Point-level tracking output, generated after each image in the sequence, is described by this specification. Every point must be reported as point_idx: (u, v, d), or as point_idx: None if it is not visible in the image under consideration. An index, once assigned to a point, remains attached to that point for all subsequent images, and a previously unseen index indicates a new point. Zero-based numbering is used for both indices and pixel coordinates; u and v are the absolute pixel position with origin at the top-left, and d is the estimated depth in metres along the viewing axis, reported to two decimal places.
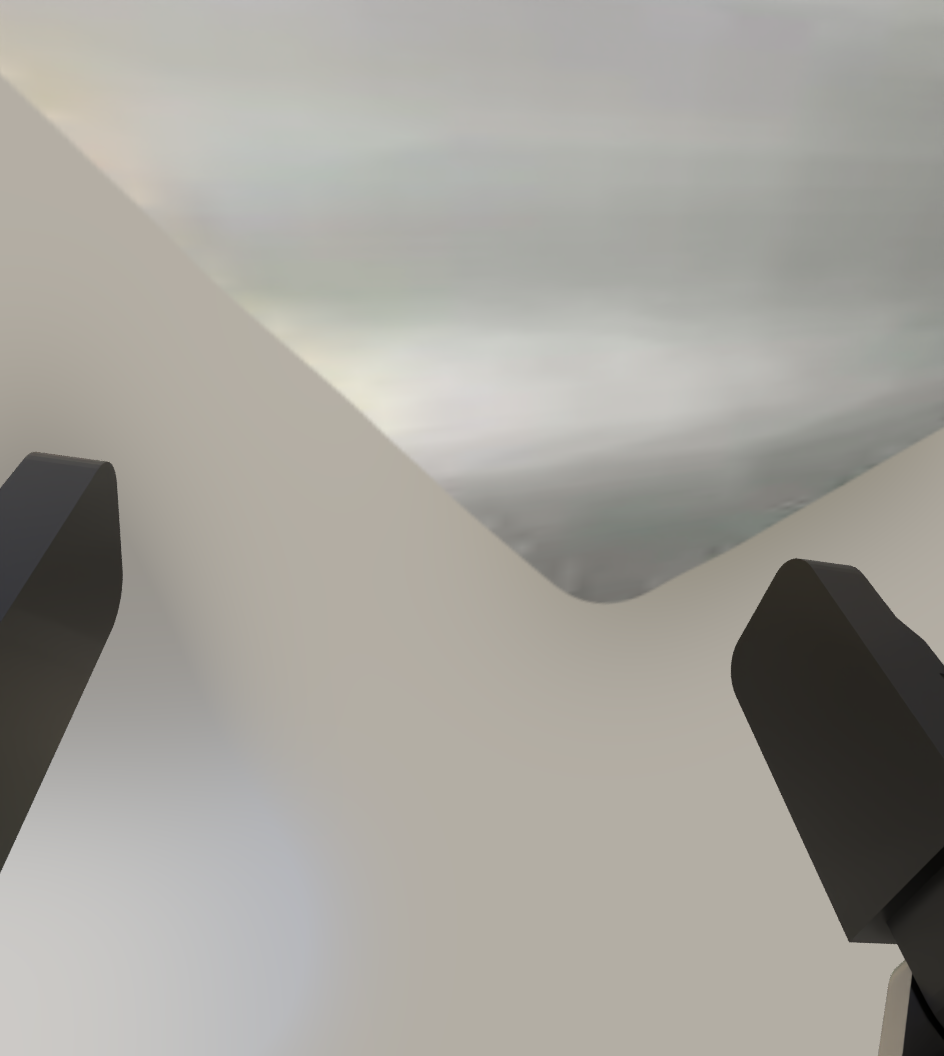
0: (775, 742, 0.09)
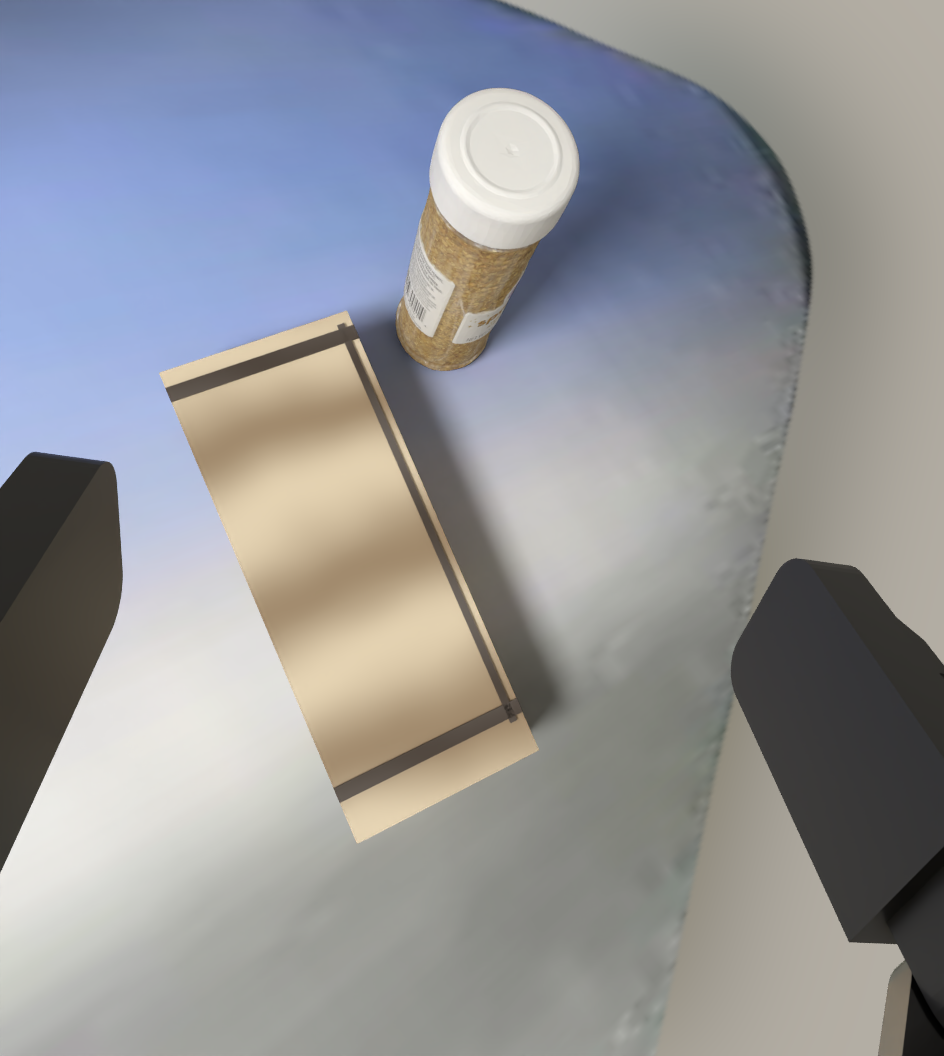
0: (775, 742, 0.09)
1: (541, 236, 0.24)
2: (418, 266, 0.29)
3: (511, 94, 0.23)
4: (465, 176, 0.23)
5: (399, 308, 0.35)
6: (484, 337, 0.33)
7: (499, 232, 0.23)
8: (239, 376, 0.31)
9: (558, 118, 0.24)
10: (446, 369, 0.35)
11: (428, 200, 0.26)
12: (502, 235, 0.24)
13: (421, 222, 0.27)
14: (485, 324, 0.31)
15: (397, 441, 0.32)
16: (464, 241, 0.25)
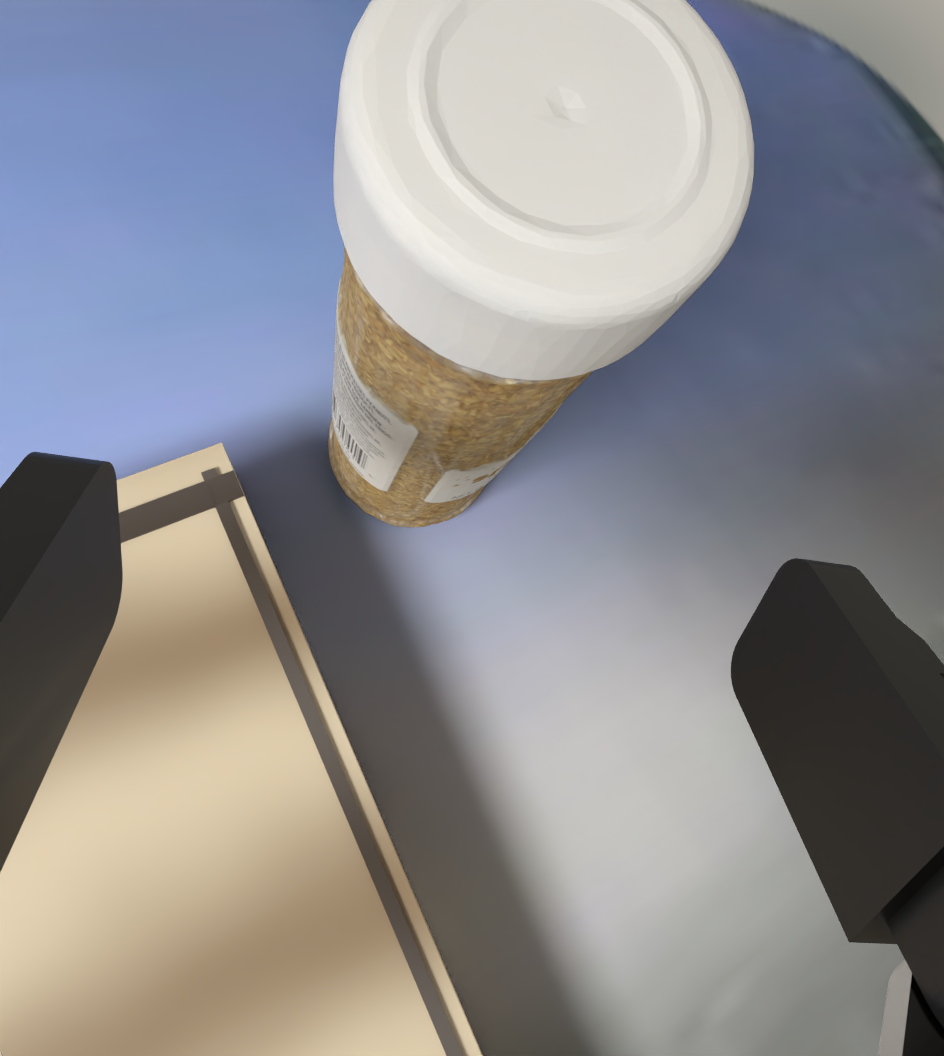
0: (775, 742, 0.09)
1: (637, 345, 0.09)
2: (342, 379, 0.13)
3: None
4: (425, 185, 0.07)
5: None
6: None
7: (526, 347, 0.08)
8: None
9: (695, 18, 0.08)
10: (418, 526, 0.20)
11: None
12: (535, 353, 0.08)
13: (341, 289, 0.12)
14: (487, 477, 0.16)
15: (317, 700, 0.16)
16: (431, 356, 0.09)
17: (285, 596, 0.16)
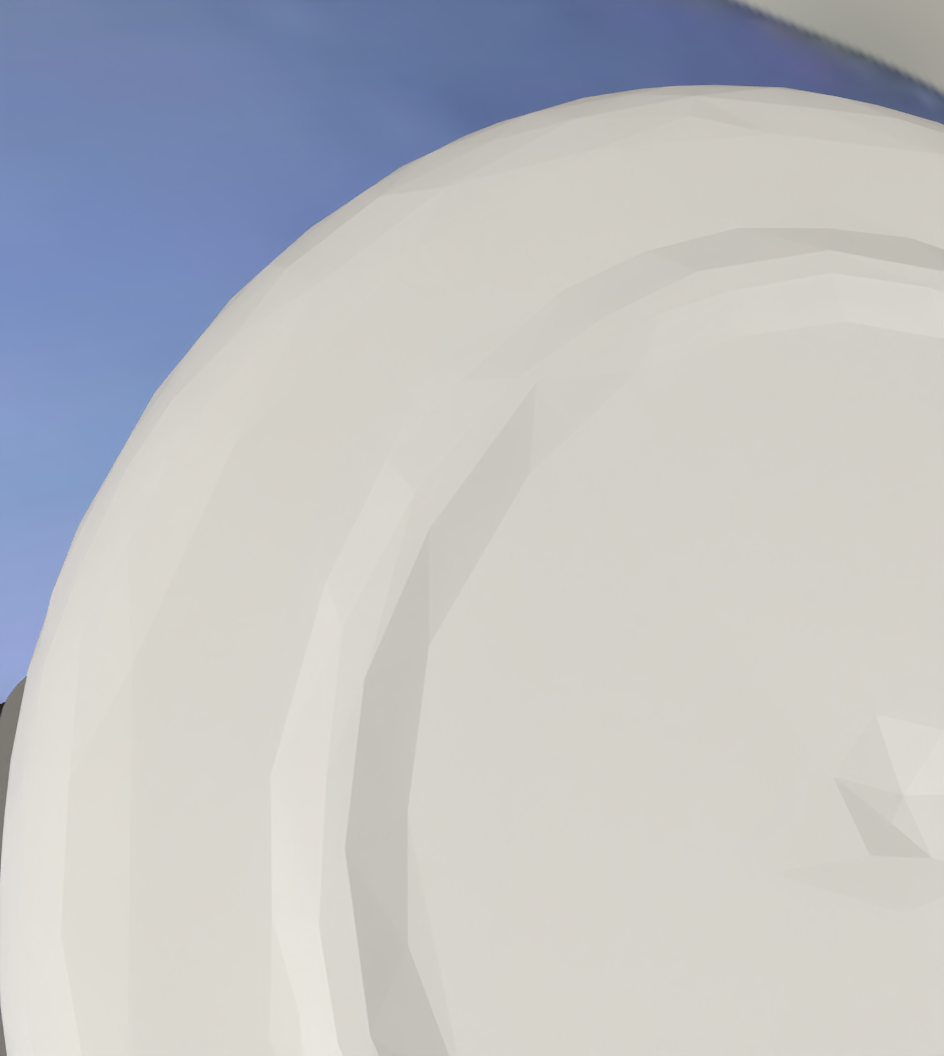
0: None
1: None
2: None
3: (854, 150, 0.02)
4: None
5: None
6: None
7: None
8: None
9: None
10: None
11: None
12: None
13: None
14: None
15: None
16: None
17: None
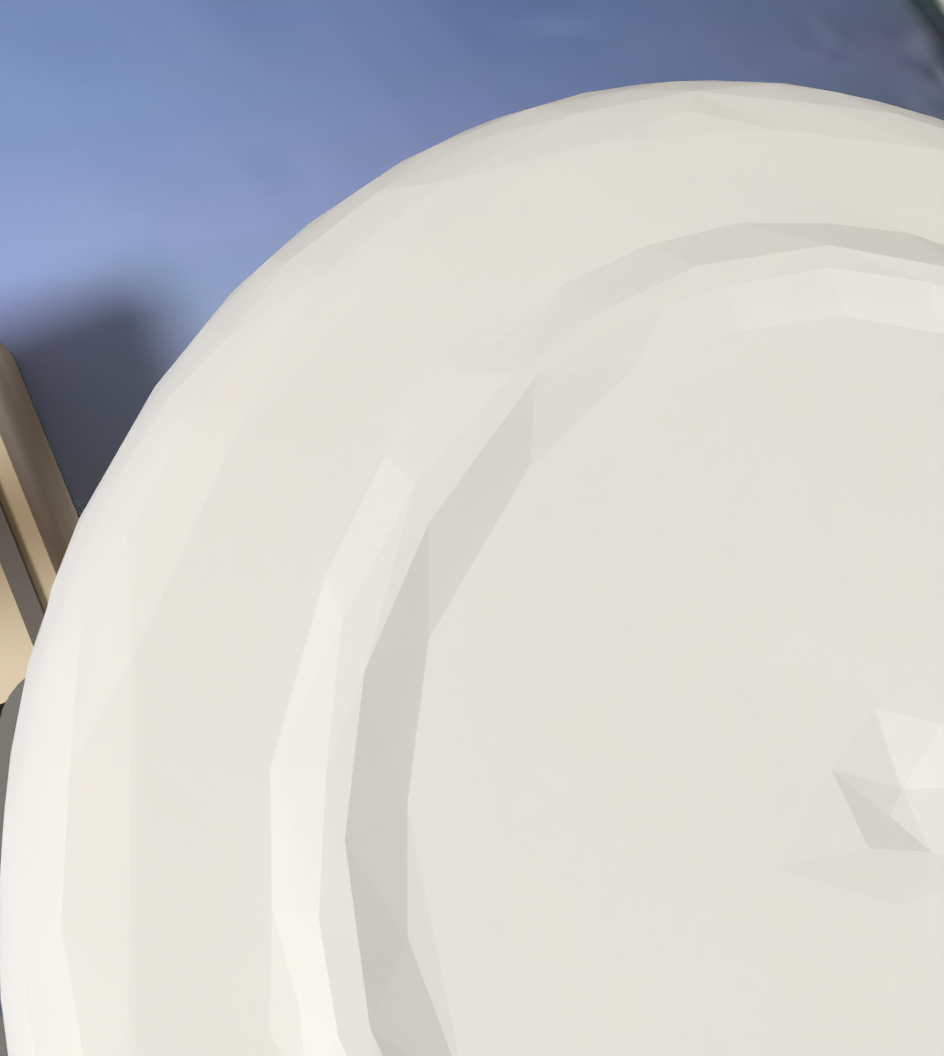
0: None
1: None
2: None
3: (853, 145, 0.02)
4: None
5: None
6: None
7: None
8: None
9: None
10: None
11: None
12: None
13: None
14: None
15: None
16: None
17: (21, 494, 0.12)
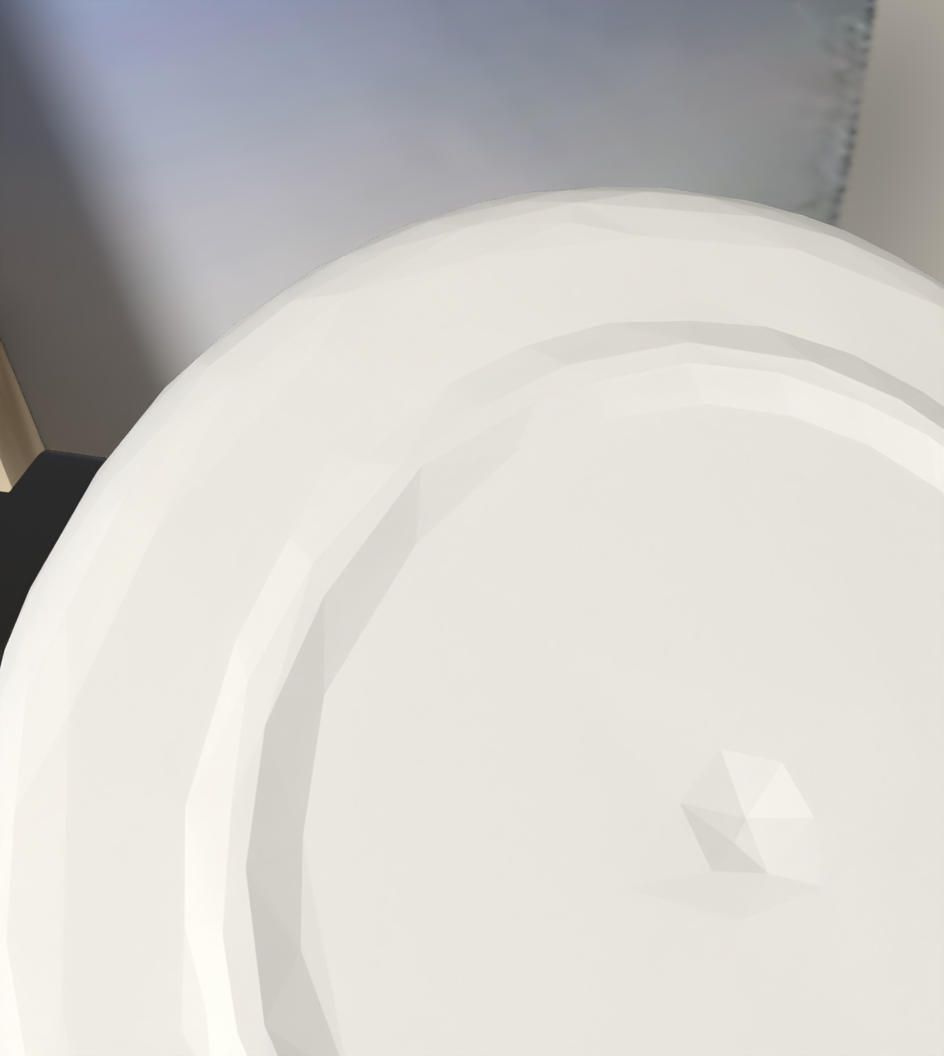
0: None
1: None
2: None
3: (717, 251, 0.03)
4: None
5: None
6: None
7: None
8: None
9: None
10: None
11: None
12: None
13: None
14: None
15: None
16: None
17: None
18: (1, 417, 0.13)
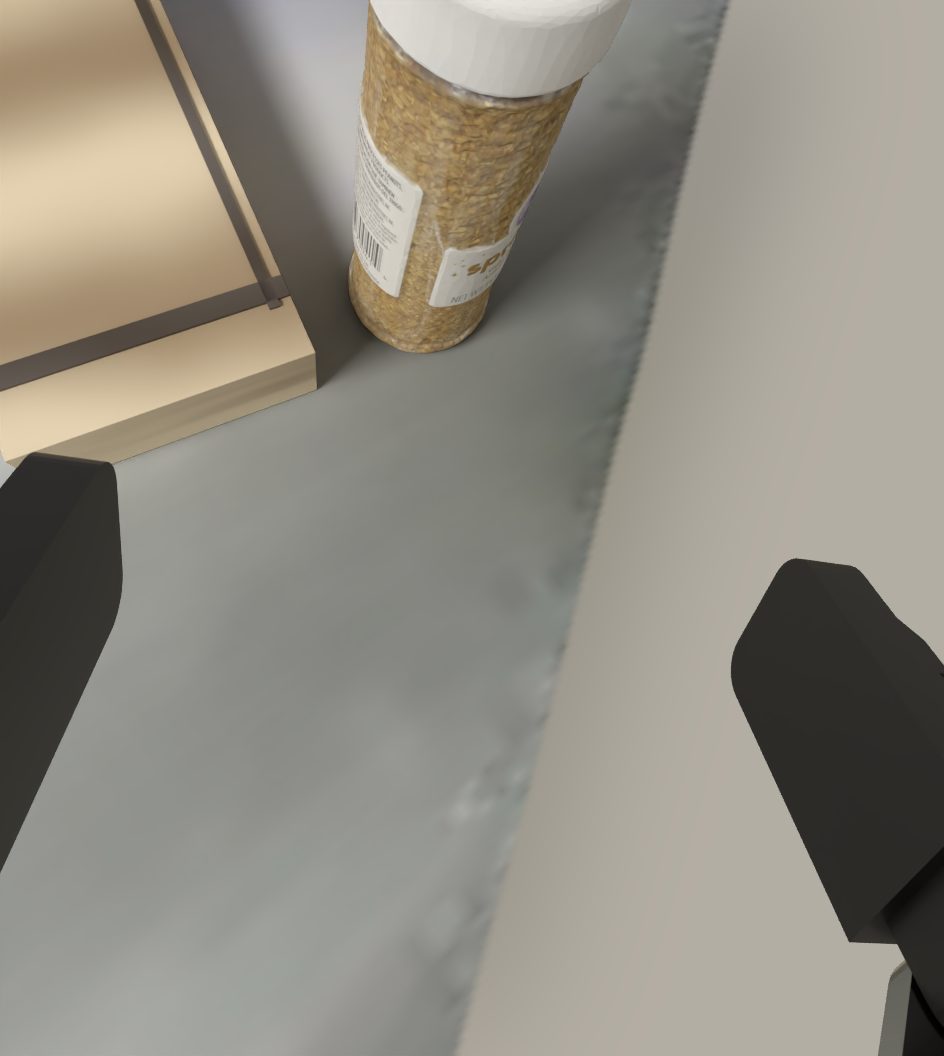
0: (775, 742, 0.09)
1: (578, 72, 0.13)
2: (363, 167, 0.17)
3: None
4: None
5: (353, 260, 0.23)
6: (480, 298, 0.22)
7: (495, 51, 0.12)
8: None
9: None
10: (424, 350, 0.23)
11: (367, 25, 0.14)
12: (503, 59, 0.12)
13: (362, 82, 0.16)
14: (480, 272, 0.19)
15: None
16: (431, 87, 0.13)
17: None
18: None
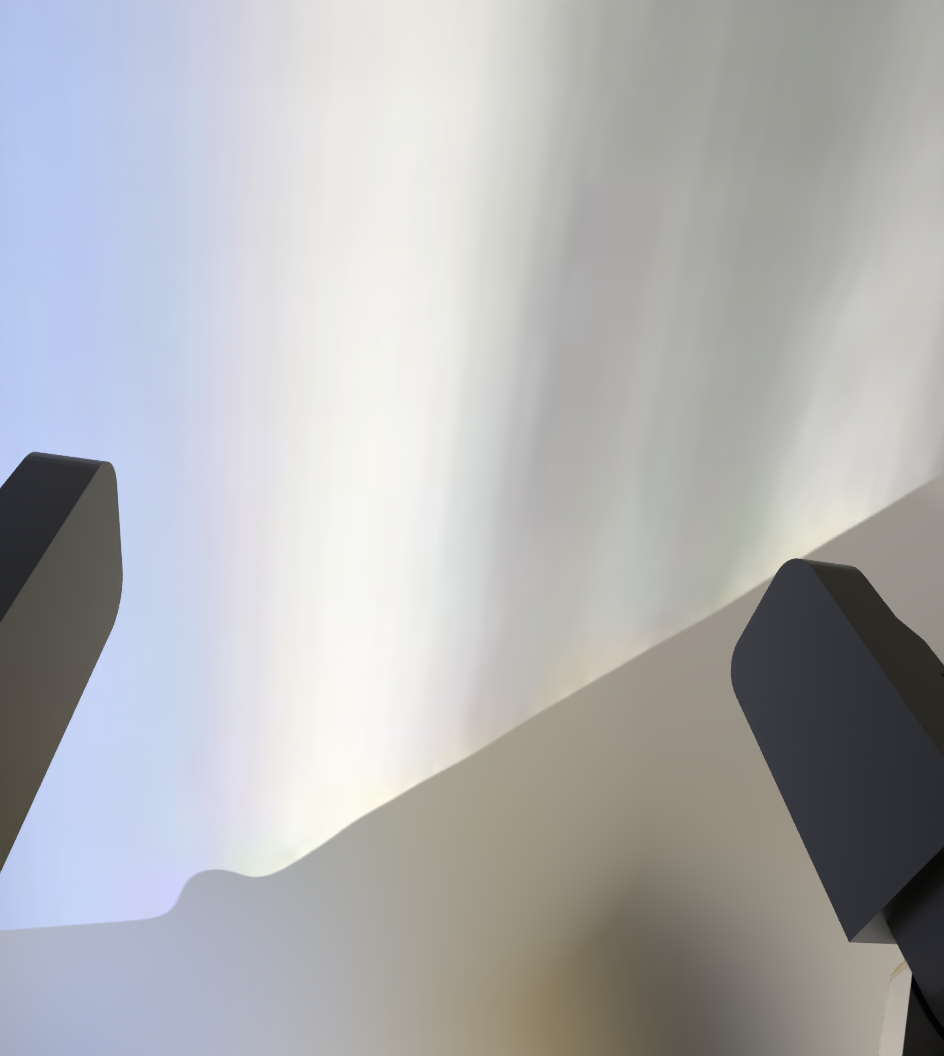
0: (775, 742, 0.09)
1: None
2: None
3: None
4: None
5: None
6: None
7: None
8: None
9: None
10: None
11: None
12: None
13: None
14: None
15: None
16: None
17: None
18: None
